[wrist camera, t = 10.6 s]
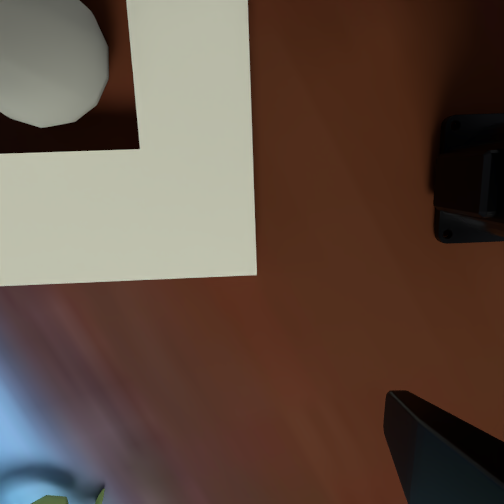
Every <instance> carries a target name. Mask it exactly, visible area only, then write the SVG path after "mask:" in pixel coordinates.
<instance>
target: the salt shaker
mask: <svg viewBox="0 0 504 504" xmlns="http://www.w3.org/2000/svg"><path fill="white" fill-rule="evenodd" d="M108 79H109V57H108V46H107V43H106V41H105V39H104V37H103V35H102V32H101V30H100V28H99V26H98V24H97V21H96V19H95V17H94V15H93V13H92V12H91V11H90V10H89V9H88V8H87V7H86V6H85V5H84V4H83V3H82V2H81V1H80V0H0V112H1V113H3V114H4V115H6V116H7V117H9V118H11V119H14V120H17V121H20V122H23V123H27V124H30V125H33V126H36V127H40V128H44V127H51V126H56V125H61V124H67V123H72V122H76V121H77V120H78V119H79V118H81V117H82V116H83V115H85V114H86V113H87V112H89V111H90V110H91V109H93V108H94V107H95V106H96V105H97V104H98V102H99V99H100V97H101V95H102V93H103V90H104V88H105V86H106V84H107V82H108Z"/></svg>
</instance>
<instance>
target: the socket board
mask: <svg viewBox="0 0 504 504" xmlns="http://www.w3.org/2000/svg"><path fill="white" fill-rule="evenodd" d="M126 2H127V13H128V24H129V35H130V46H131V57H132V68H133V79H134V90H135V101H136V112H137V123H138V133H139V144H140V149H129V150H100V151H70V152H40V153H10V154H0V286H14V285H37V284H60V283H83V282H106V281H128V280H151V279H174V278H197V277H220V276H243V275H257V265H256V235H255V205H254V175H253V145H252V115H251V86H250V56H249V26H248V0H126Z"/></svg>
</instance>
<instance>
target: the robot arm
mask: <svg viewBox="0 0 504 504" xmlns="http://www.w3.org/2000/svg"><path fill="white" fill-rule="evenodd" d="M452 122H455V123H456V128H455V130H452V129H451V127H450V125H451V123H452ZM434 206H435V207H436V221H435V237H436V239H437V240H438V241H440V242H442V243H471V242H495V241H504V113H501V114H469V115H454V116H450V117H447V118H446V119H445V120H444V121H443V123H442V126H441V142H440V155H439V156H438V157H437V159H436V172H435V188H434ZM445 230H448V232H449V233H448V236H446V237H443V233H444V231H445ZM383 427H384V434H385V438H386V441H387V444H388V446H389V449H390V452H391V455H392V458H393V461H394V464H395V467H396V470H397V473H398V476H399V479H400V482H401V485H402V488H403V491H404V494H405V496H406V499H407V502H408V504H504V442H503V441H501V440H499V439H497V438H495V437H493V436H491V435H490V434H488V433H486V432H484V431H482V430H480V429H478V428H476V427H474V426H473V425H471V424H469V423H467V422H465V421H463V420H461V419H459V418H458V417H456V416H454V415H452V414H450V413H448V412H446V411H444V410H442V409H441V408H439V407H437V406H435V405H433V404H431V403H429V402H427V401H425V400H424V399H422V398H420V397H418V396H416V395H414V394H412V393H410V392H409V391H405V390H396V391H389V392H388V393H387V395H386V401H385V412H384V424H383Z"/></svg>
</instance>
